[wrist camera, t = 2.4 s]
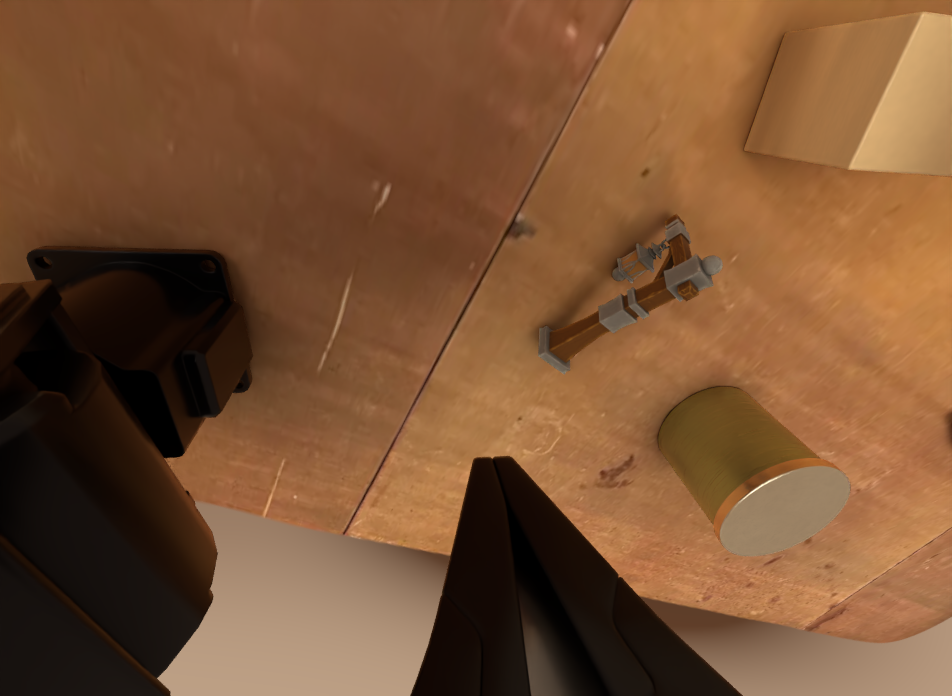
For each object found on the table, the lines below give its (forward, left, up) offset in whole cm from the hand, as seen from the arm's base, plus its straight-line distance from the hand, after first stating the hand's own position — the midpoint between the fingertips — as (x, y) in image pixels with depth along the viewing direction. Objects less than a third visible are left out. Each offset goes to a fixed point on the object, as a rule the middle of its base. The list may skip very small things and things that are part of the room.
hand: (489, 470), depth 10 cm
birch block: (+16, +8, -11) cm, 21 cm away
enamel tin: (+16, -9, -11) cm, 21 cm away
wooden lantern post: (+7, 0, -11) cm, 13 cm away
